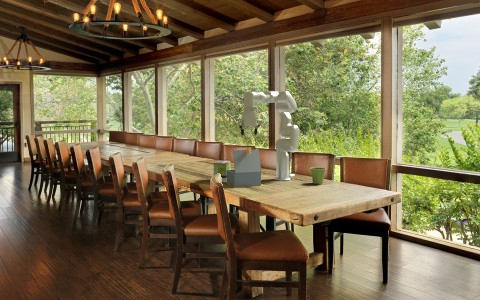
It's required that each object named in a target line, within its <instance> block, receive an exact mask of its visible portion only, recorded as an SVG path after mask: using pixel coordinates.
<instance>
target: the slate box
mask: <svg viewBox="0 0 480 300" xmlns="http://www.w3.org/2000/svg"><path fill="white" fill-rule="evenodd" d="M226 184H227V185H228V184H229V186H231V187H233V188H245V187H246V188H247V187H248V188H249V187H259V186H260V187H261V186H262V171H261V172H245V173H235V169H231V170H227V182H226Z"/></svg>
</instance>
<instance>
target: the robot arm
mask: <svg viewBox="0 0 480 300" xmlns="http://www.w3.org/2000/svg"><path fill="white" fill-rule="evenodd" d="M257 103H259V104H260V103H261V104H262V103H263V104H270V103H275V109H276V111H277V113H278V115H279V117H280V120H279V128H278V130H279V131H278V134H279V136H280V137H284V138H278V139H277V140H276V141H275V150H276V151H275V152H276V167H275V168H276V171H275V173H276V176H275V177H274V178H273V179H274V180H275V181H290V180H291V177H295V174H294V173H290V155H289V152H290V153H291V152H293V153H294V152H296V151H297V150H298V148H299V139H300V128H299V126H298V125H296V124H292V116H291V114H290V113H295V112H296V111H297V109H298V104H297V102H296V100H295V99H294V97H293V96H292V94H291V93H290V92H289V91H288V90H266V91H265V90H263V91H245V92H244V93H243V112H242V113H241V120H240V121H238V122H237V126H238V128H239V129H240V133H241V136H245V129H244V128H245V127H253V128H254V129H253V131H254V132H253V135H256V136H257V135H258V130H259V128H260V127H261V124H262V122H261V121H259V120H258V119H257V118H258V117H257V112H256V111H257V107H256V104H257Z"/></svg>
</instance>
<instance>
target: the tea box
mask: <svg viewBox="0 0 480 300" xmlns="http://www.w3.org/2000/svg"><path fill="white" fill-rule="evenodd" d="M231 165H232V162H231V161H230V160H216V161H214V162H213V174H212V175H215V174H217V173H220V174H221V177H222V182H221V183H227V170H232V169H231Z"/></svg>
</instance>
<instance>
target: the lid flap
mask: <svg viewBox="0 0 480 300" xmlns="http://www.w3.org/2000/svg"><path fill="white" fill-rule="evenodd" d="M232 157H233V159H232V160H233V168H234V169H233V170H235V173H245V172H261V173H262V166H261V159H260V158H261V157H260V150H259V149H252V148H251V147H248V148H246V149H234V150H232Z"/></svg>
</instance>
